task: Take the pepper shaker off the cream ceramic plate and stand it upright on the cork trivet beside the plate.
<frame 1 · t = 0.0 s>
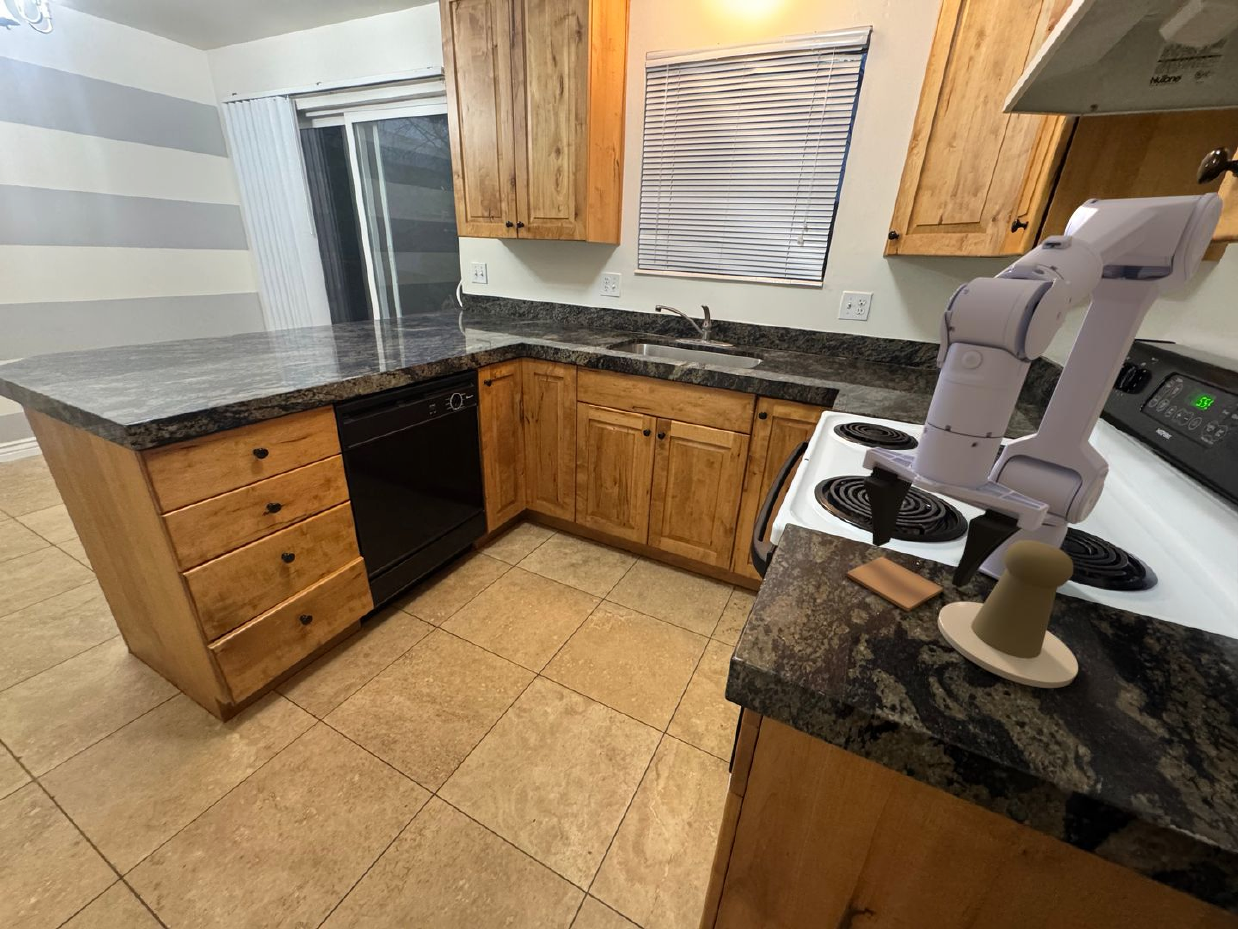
hand: (918, 561, 48), 10 cm above the worktop, tool pointing down, fingers open, 7 cm apart
pepper shaker: (1004, 639, 52), point 1 cm above the worktop, touching plate
cork trivet: (893, 583, 62), on the worktop
plate: (1002, 643, 53), on the worktop
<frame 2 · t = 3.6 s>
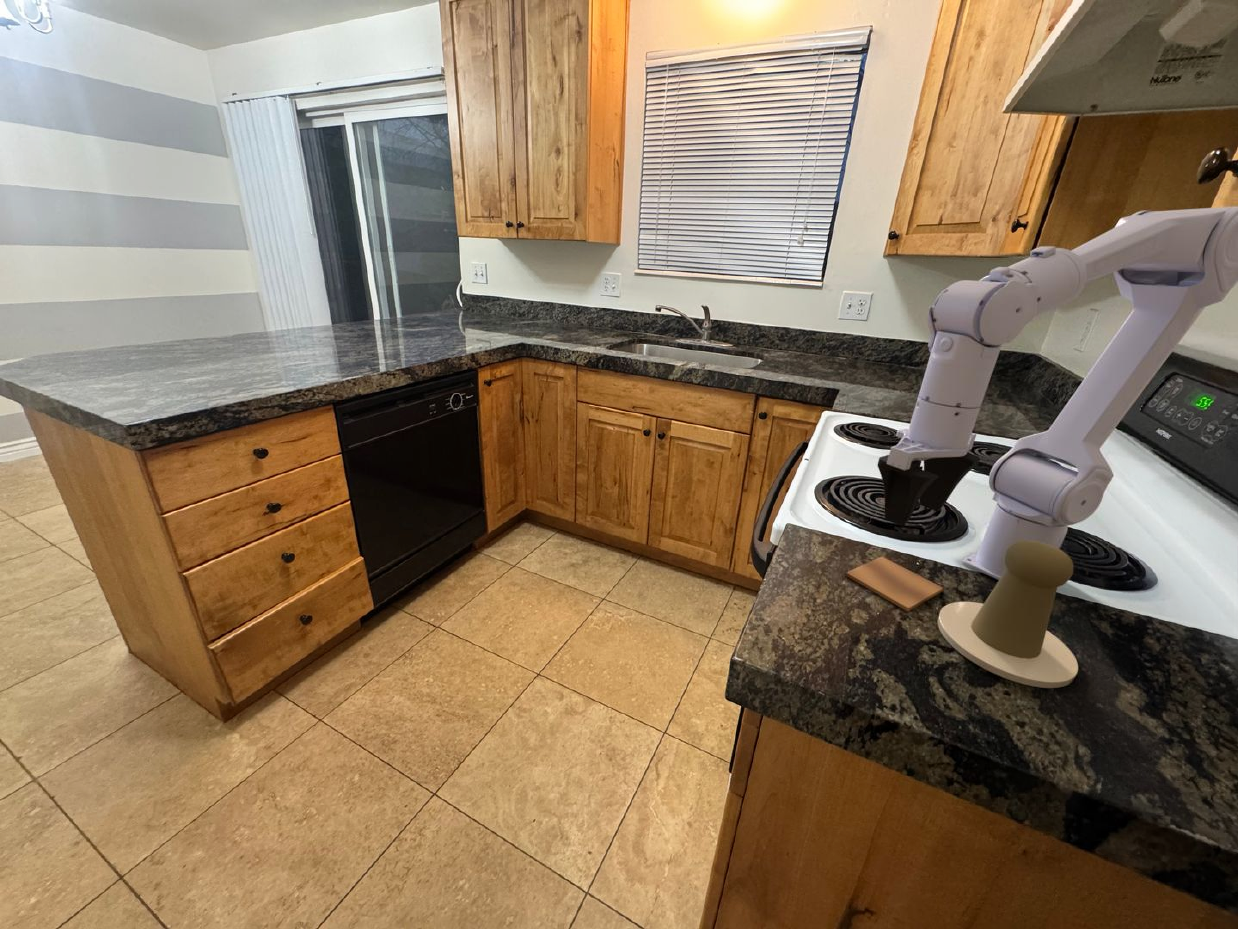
hand: (912, 514, 58), 10 cm above the worktop, tool pointing down, fingers open, 7 cm apart
nothing on the worktop moved.
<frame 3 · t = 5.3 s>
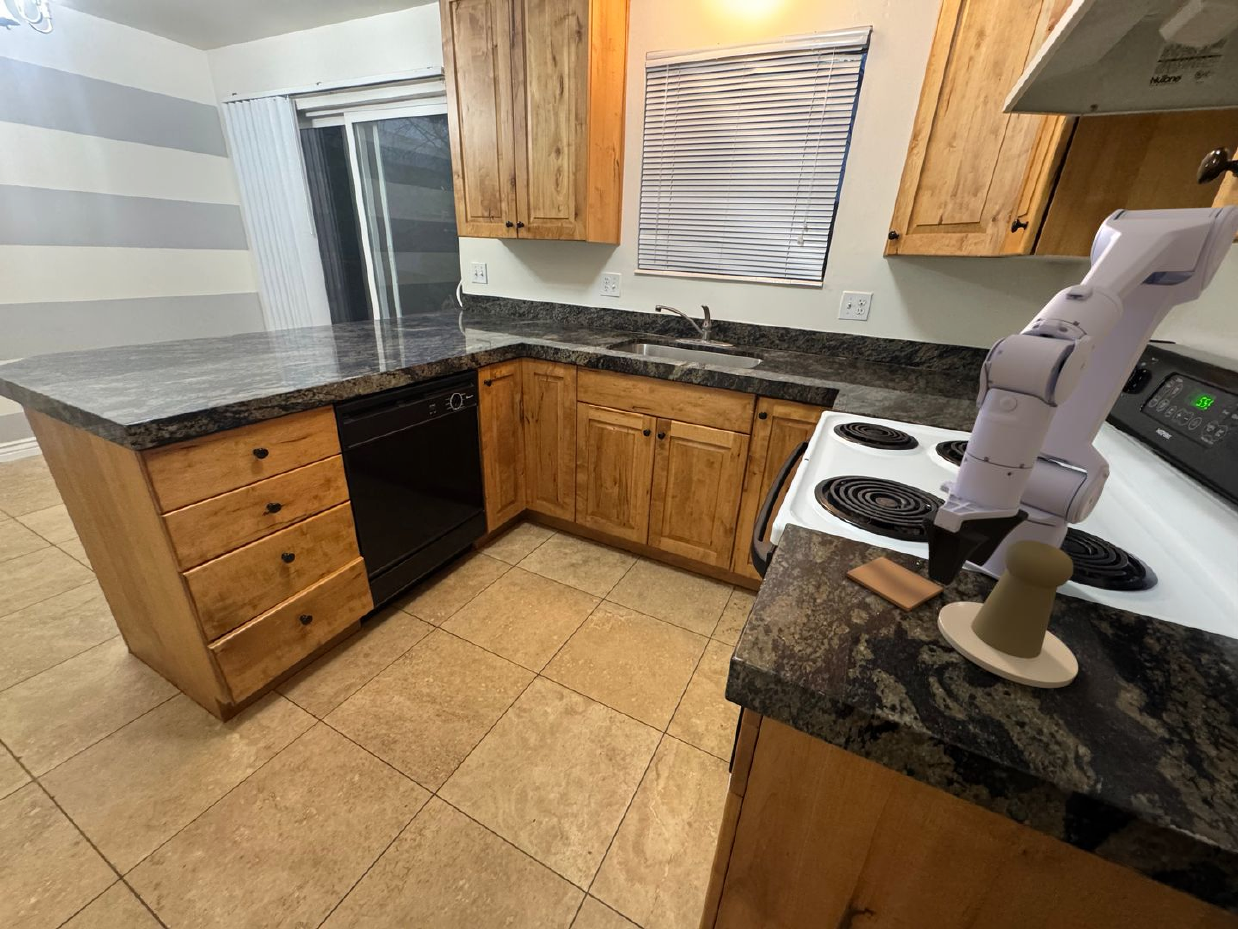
hand: (956, 570, 55), 5 cm above the worktop, tool pointing down, fingers open, 7 cm apart
nothing on the worktop moved.
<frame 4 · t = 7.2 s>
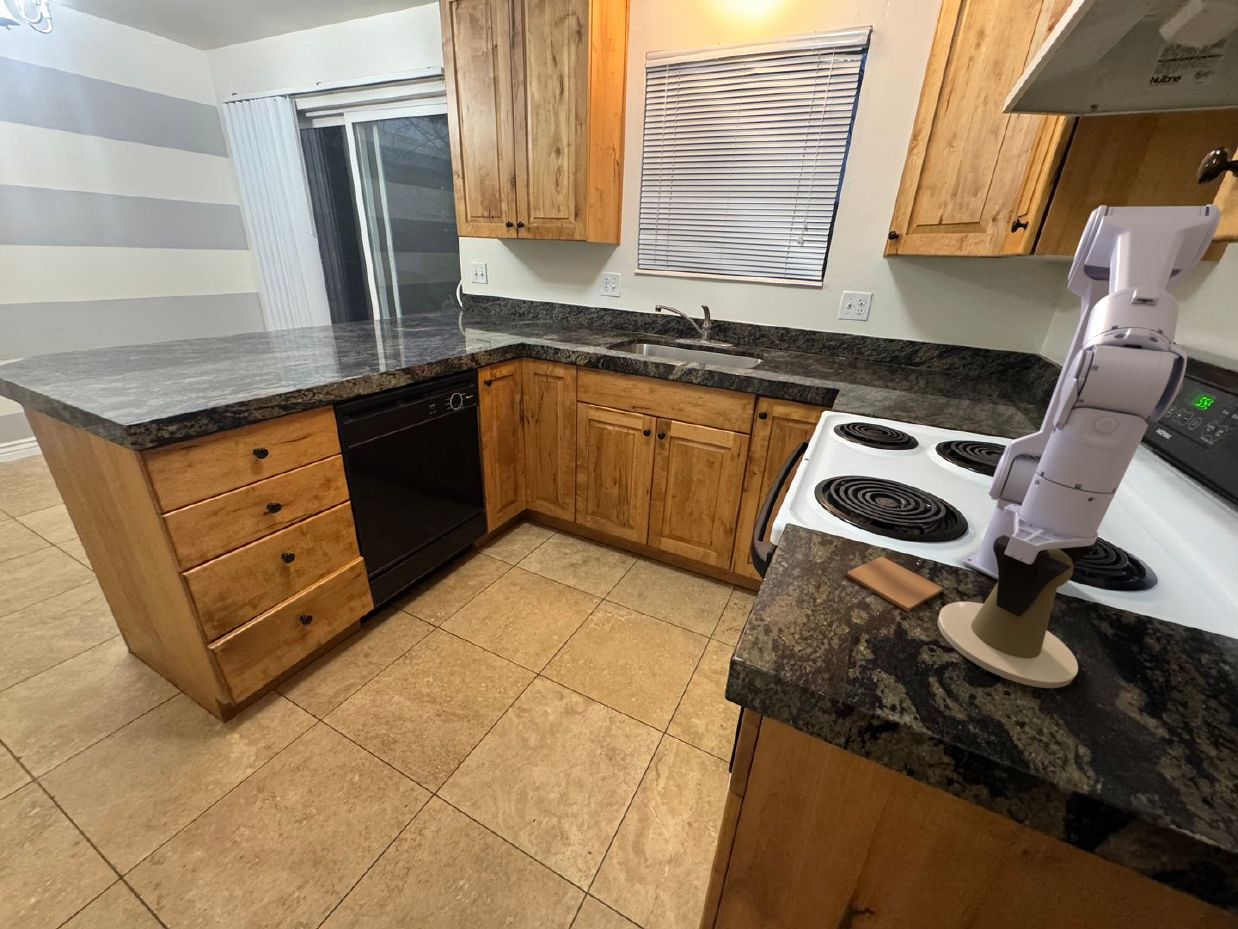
hand: (1020, 601, 51), 5 cm above the worktop, tool pointing down, fingers closed on pepper shaker, 5 cm apart
pepper shaker: (1004, 638, 52), point 1 cm above the worktop, touching gripper, plate
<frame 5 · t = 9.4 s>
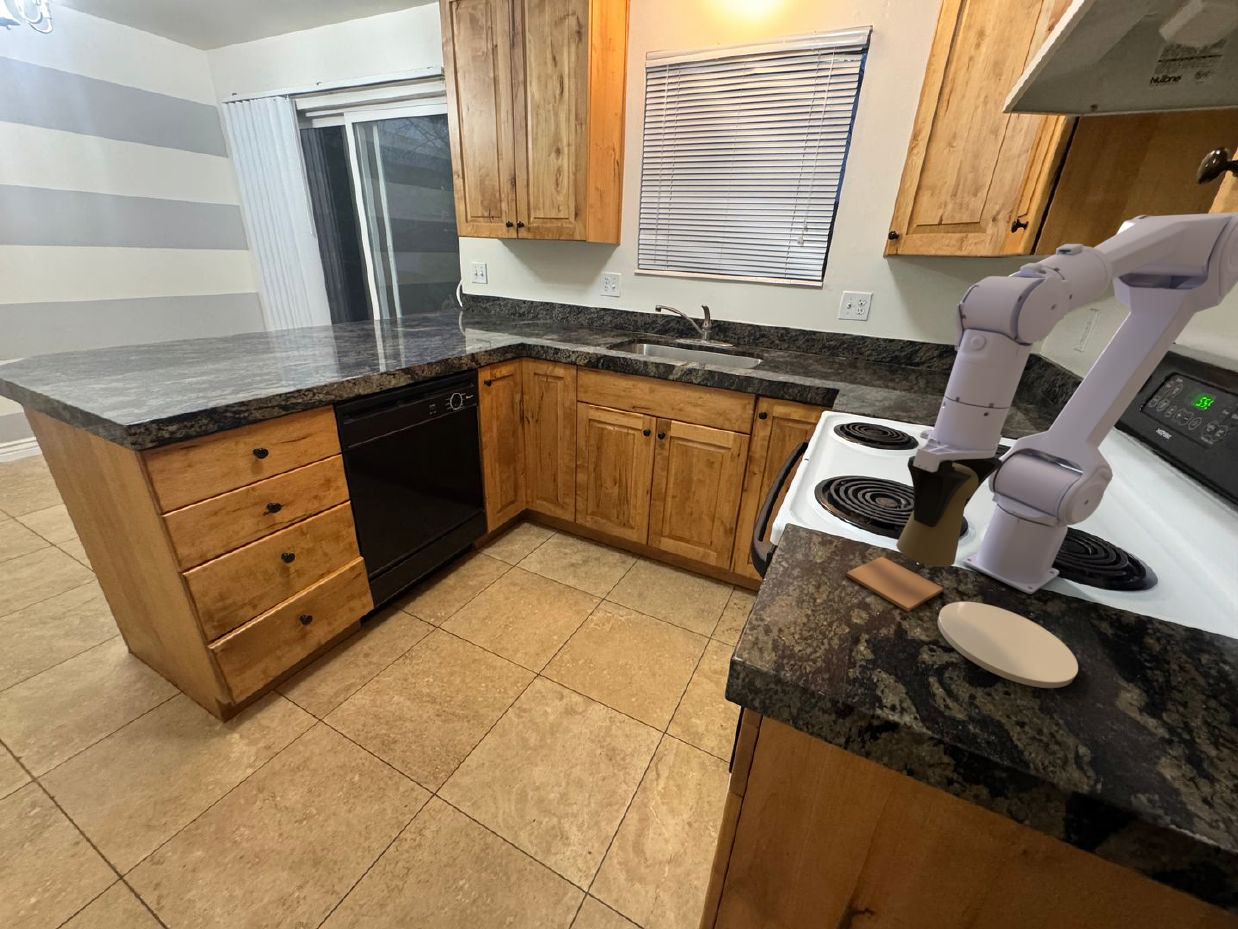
hand: (936, 517, 56), 10 cm above the worktop, tool pointing down, fingers closed on pepper shaker, 5 cm apart
pepper shaker: (924, 553, 58), point 6 cm above the worktop, touching gripper
when the fingers open (5 cm above the worktop, at t = 11.7 s): pepper shaker stays where it is, resting on cork trivet.
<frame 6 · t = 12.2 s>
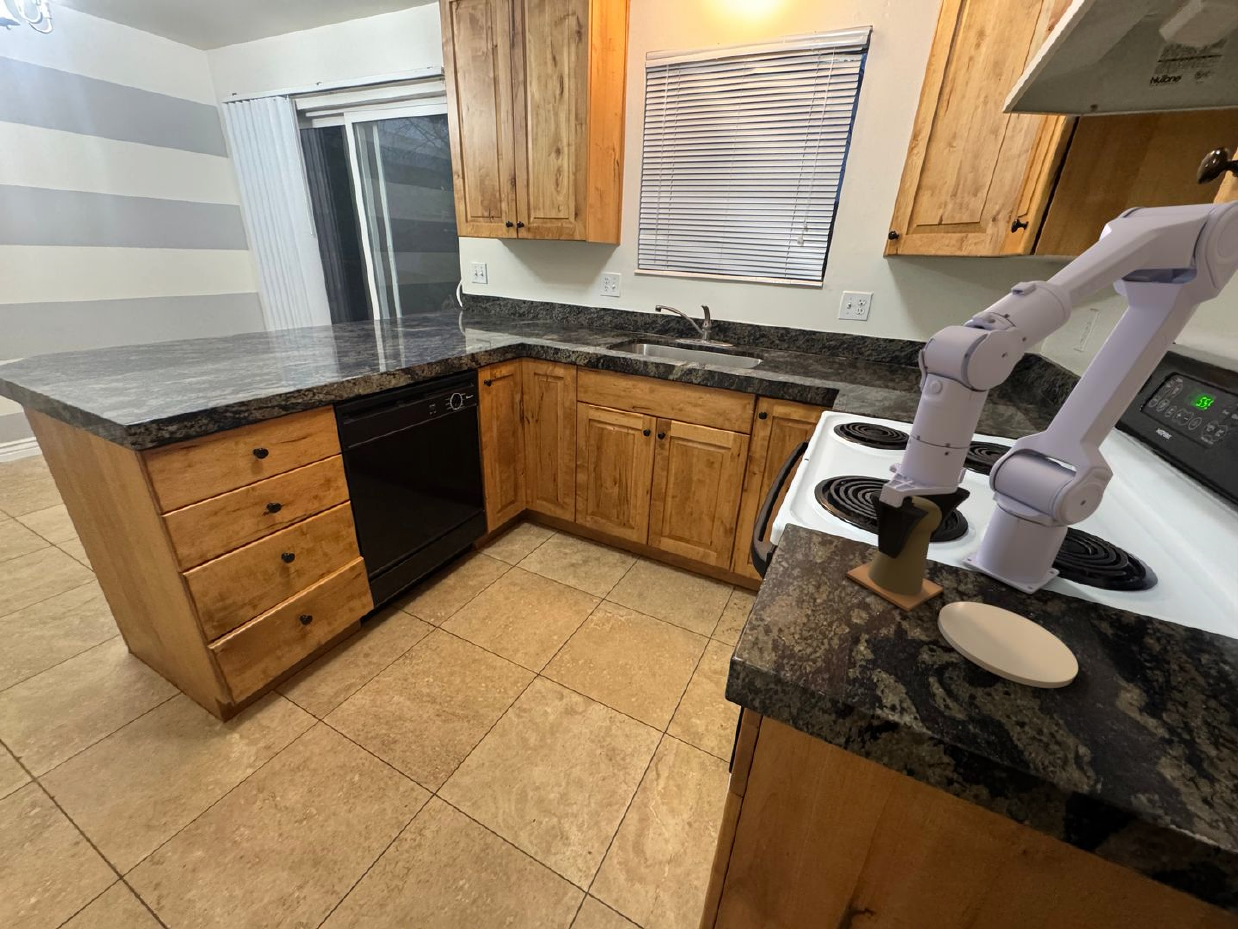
hand: (905, 545, 60), 5 cm above the worktop, tool pointing down, fingers open, 7 cm apart
pepper shaker: (893, 581, 62), resting on cork trivet
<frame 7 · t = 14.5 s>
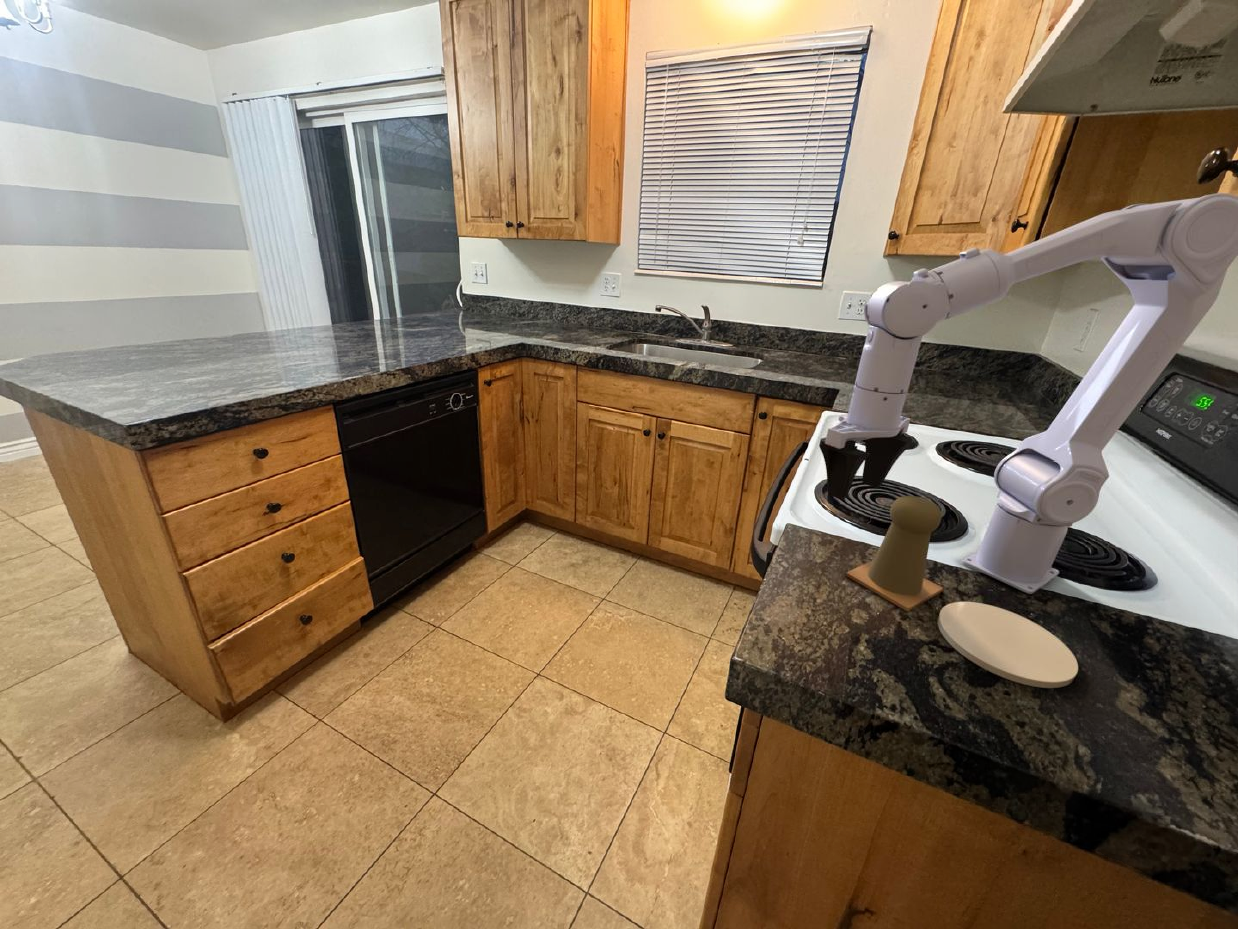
hand: (854, 490, 64), 9 cm above the worktop, tool pointing down, fingers open, 7 cm apart
nothing on the worktop moved.
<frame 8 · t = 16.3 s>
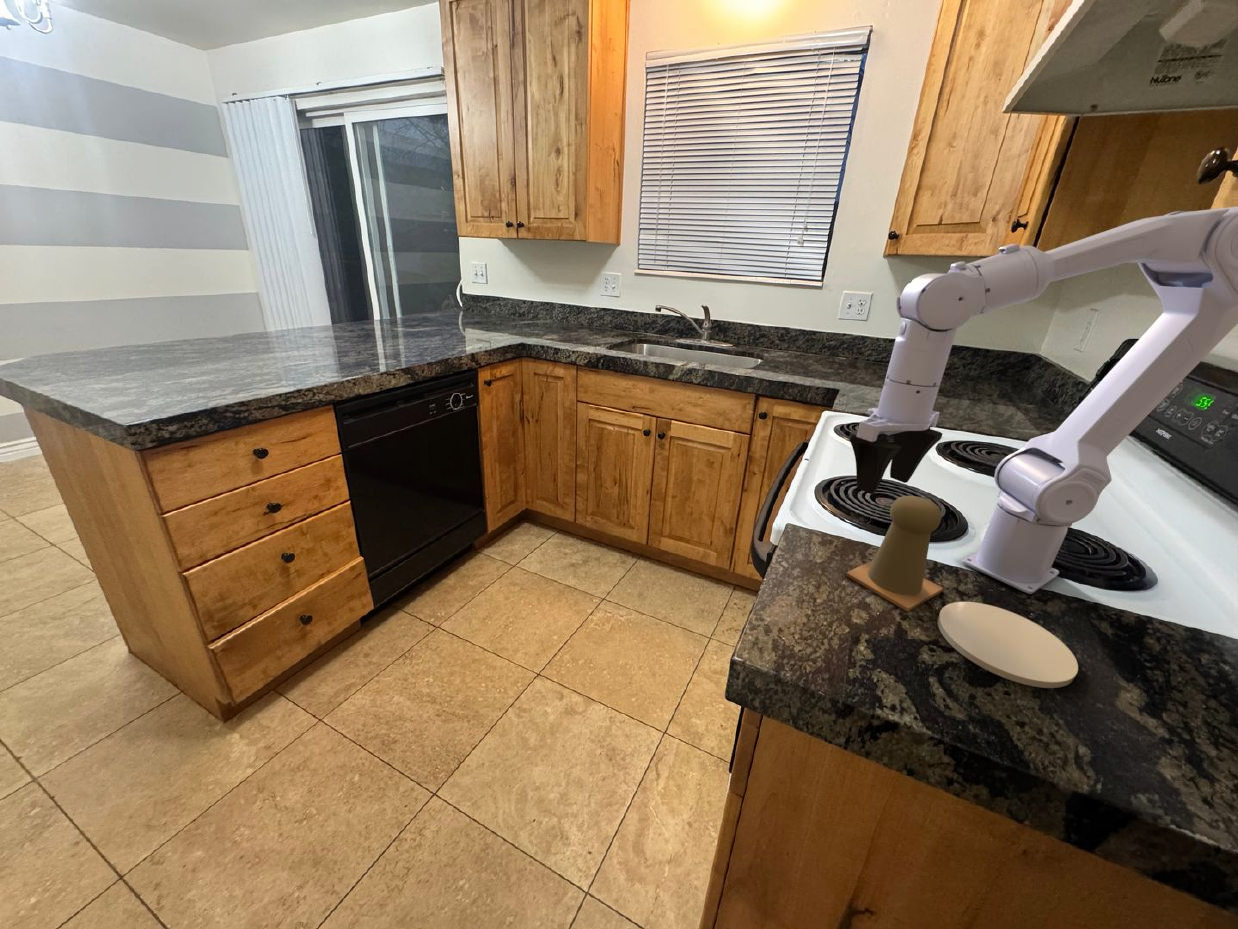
hand: (882, 485, 64), 10 cm above the worktop, tool pointing down, fingers open, 7 cm apart
nothing on the worktop moved.
at the end: pepper shaker 0.0 cm from the target spot, resting on cork trivet; pepper shaker tilted 0°; pepper shaker touching cork trivet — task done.
